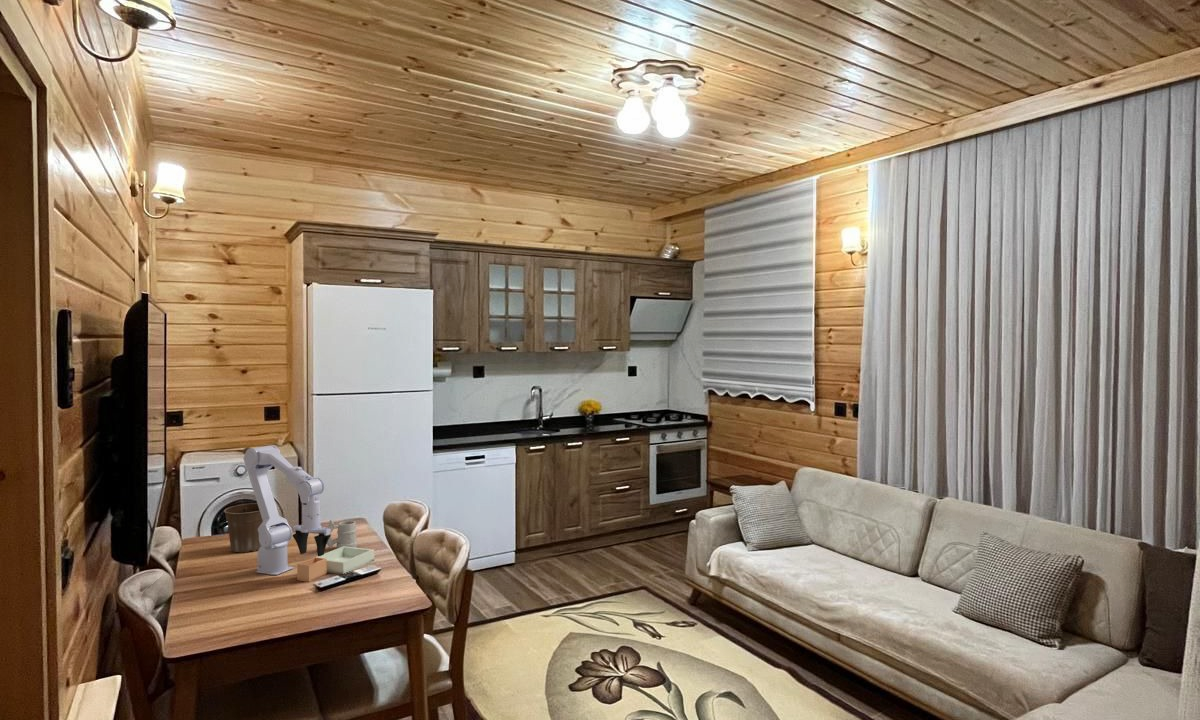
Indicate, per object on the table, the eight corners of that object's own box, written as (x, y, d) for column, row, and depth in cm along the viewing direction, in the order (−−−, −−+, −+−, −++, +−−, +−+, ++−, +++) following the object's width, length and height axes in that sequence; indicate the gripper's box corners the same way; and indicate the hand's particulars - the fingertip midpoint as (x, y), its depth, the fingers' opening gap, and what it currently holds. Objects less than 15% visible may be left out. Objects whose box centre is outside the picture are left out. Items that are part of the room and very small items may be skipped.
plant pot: (258, 555, 256) (257, 512, 256) (215, 555, 257) (215, 512, 256) (278, 542, 273) (278, 502, 272) (239, 542, 273) (238, 503, 273)
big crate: (311, 570, 238) (311, 558, 238) (343, 556, 253) (343, 546, 253) (343, 574, 233) (343, 562, 233) (374, 560, 248) (374, 549, 248)
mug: (360, 548, 264) (359, 517, 264) (328, 554, 257) (327, 522, 257) (354, 544, 270) (354, 514, 270) (323, 549, 263) (322, 518, 263)
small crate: (297, 580, 228) (297, 564, 228) (315, 572, 235) (315, 557, 235) (309, 581, 226) (308, 565, 226) (326, 574, 233) (326, 558, 233)
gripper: (285, 515, 229) (286, 555, 229) (319, 519, 224) (320, 559, 224) (301, 511, 236) (302, 549, 236) (334, 514, 230) (335, 553, 231)
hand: (312, 554), depth 230 cm, fingers open, 7 cm apart
